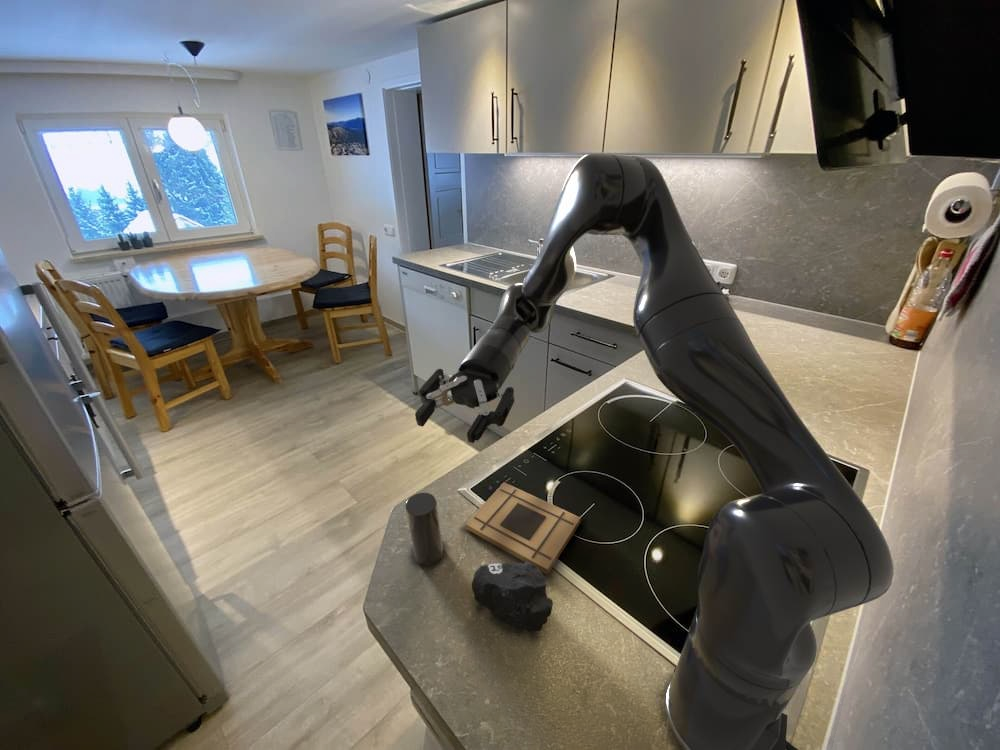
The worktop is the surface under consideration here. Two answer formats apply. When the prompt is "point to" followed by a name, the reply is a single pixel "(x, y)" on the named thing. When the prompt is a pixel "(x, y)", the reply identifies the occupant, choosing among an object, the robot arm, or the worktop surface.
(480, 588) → the mineral
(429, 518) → the tall black cylinder
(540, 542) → the board
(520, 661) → the worktop surface
